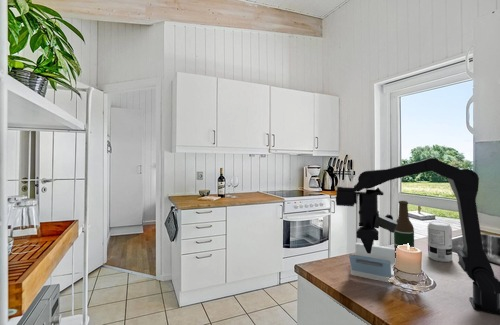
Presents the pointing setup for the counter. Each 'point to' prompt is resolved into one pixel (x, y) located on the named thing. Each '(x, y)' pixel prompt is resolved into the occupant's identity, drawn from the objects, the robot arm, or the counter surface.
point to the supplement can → (440, 241)
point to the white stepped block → (378, 253)
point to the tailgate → (370, 265)
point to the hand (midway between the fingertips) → (368, 253)
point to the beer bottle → (403, 227)
